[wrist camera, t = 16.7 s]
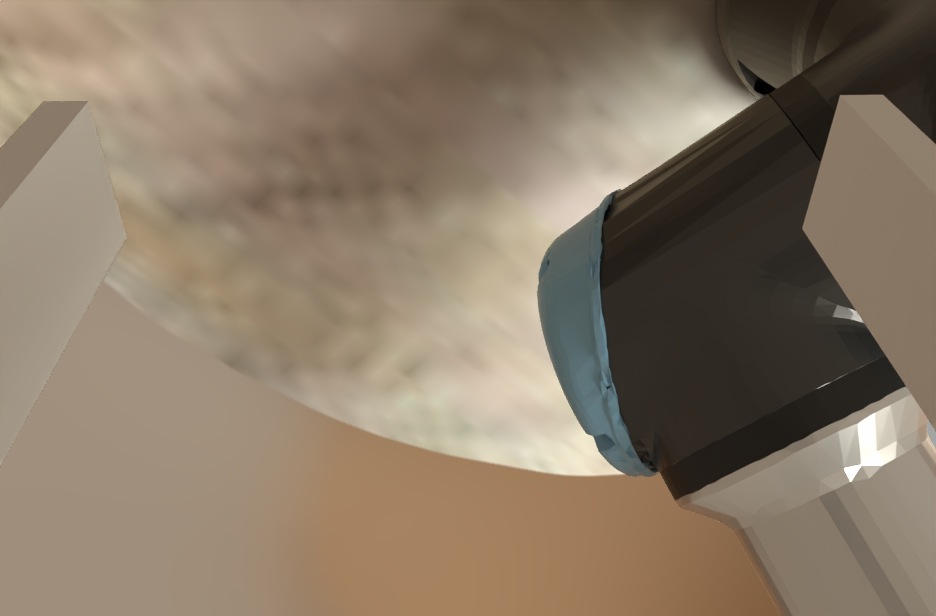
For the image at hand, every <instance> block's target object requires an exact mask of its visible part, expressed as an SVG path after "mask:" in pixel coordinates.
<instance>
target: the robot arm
mask: <svg viewBox="0 0 936 616" xmlns="http://www.w3.org/2000/svg"><path fill="white" fill-rule="evenodd" d="M716 19H717V28H718V33H719V37H720V41H721V45H722V48H723V50H724V53H725V55H726V57H727V59H728V61H729V63H730V65H731V67H732V68H733V70H734V71H735V73H736V74H737V75H738V77H739V78H740V79H741V81H742V82H743V83H744V85H745V86H746V87H747V88H748V90H749V91H750V92H751V93H752V94H753V95H754V96H755V97H756V98H757V99H758V101H756V102H755V103H753V104H752V105H750V106H749V107H747V108H746V109H744V110H743V111H741V112H740V113H738V114H737V115H735V116H734V117H732V118H731V119H729V120H728V121H726V122H725V123H723V124H722V125H720V126H719V127H717V128H716V129H714V130H713V131H711V132H710V133H708V134H707V135H705V136H704V137H702V138H701V139H699V140H698V141H696V142H695V143H693V144H692V145H690V146H689V147H687V148H686V149H684V150H683V151H681V152H680V153H678V154H677V155H675V156H674V157H672V158H671V159H669V160H668V161H666V162H665V163H663V164H662V165H660V166H659V167H657V168H656V169H654V170H653V171H651V172H650V173H648V174H647V175H645V176H643V177H642V178H640V179H639V180H637V181H636V182H634V183H633V184H631V185H629V186H628V187H626V188H625V189H623V190H621V189H619V190H616V191H614V192H612V193H611V194H610V195H607V196H606V197H605V198H604V200H603V201H602V203H601V204H600V206H599V207H597V208H596V209H595V210H594V211H592V212H591V213H590V214H588V215H587V216H586V217H584V218H583V219H582V220H580V221H579V222H578V223H577V224H575V225H574V226H573V227H571V228H570V229H568V230H567V231H566V232H564V233H563V234H561V235H560V236H559V237H558V238H557V239H556V240H554V242H553V243H552V244H551V245H550V247H549V248H548V250H547V251H546V253H545V255H544V257H543V260H542V263H541V268H540V271H539V285H538V291H537V297H538V308H539V315H540V321H541V326H542V330H543V334H544V338H545V342H546V346H547V349H548V352H549V355H550V359H551V361H552V364H553V367H554V370H555V372H556V375H557V377H558V380H559V382H560V385H561V387H562V389H563V392H564V394H565V396H566V398H567V400H568V402H569V404H570V406H571V408H572V410H573V412H574V414H575V416H576V418H577V420H578V421H579V423H580V425H581V426H582V428H583V429H584V431H585V432H586V433H587V434H588V435H592V436H593V437H594V440H595V442H596V445H597V448H598V450H599V452H600V453H601V455H602V456H603V457H604V458H605V459H606V460H607V461H608V462H609V463H610V464H611V465H612V466H613V467H614V468H616V469H617V470H619V471H621V472H623V473H624V474H626V475H628V476H646V477H651V476H654V475H656V474H658V473H659V472H660V474H661V475H662V477H663V479H664V481H665V483H666V485H667V486H668V488H669V490H670V492H671V494H672V496H673V498H674V499H675V501H676V503H677V504H678V506H679V507H680V508H682V509H685V510H688V511H691V512H694V513H697V514H699V515H703V516H706V517H708V518H711V519H714V520H717V521H720V522H721V523H723V524H724V525H726V526H727V527H728V528H730V529H731V530H733V532H734V534H735V536H736V537H737V539H738V541H739V543H740V545H741V546H742V548H743V550H744V552H745V554H746V555H747V557H748V559H749V561H750V562H751V564H752V566H753V568H754V570H755V571H756V573H757V575H758V577H759V579H760V580H761V582H762V584H763V586H764V588H765V589H766V591H767V593H768V595H769V596H770V598H771V600H772V602H773V604H774V605H775V607H776V609H777V611H778V612H779V614H780V616H936V448H935V447H934V445H933V444H932V442H931V441H930V439H929V436H928V431H927V420H929V422H930V423H931V425H932V426H933V428H934V429H935V431H936V0H716ZM126 238H127V236H126V232H125V229H124V225H123V222H122V218H121V215H120V211H119V208H118V204H117V201H116V197H115V194H114V190H113V186H112V183H111V179H110V176H109V172H108V169H107V165H106V162H105V158H104V155H103V151H102V148H101V144H100V141H99V137H98V134H97V130H96V126H95V123H94V119H93V116H92V112H91V109H90V105H89V102H88V101H53V102H43V103H42V104H41V105H40V106H39V107H38V108H37V109H36V110H35V111H34V112H33V113H32V114H31V116H30V117H29V118H28V119H27V120H26V121H25V122H24V123H23V124H22V125H21V126H20V127H19V129H18V130H17V131H16V132H15V133H14V134H13V135H12V136H11V137H10V138H9V139H8V140H7V142H6V143H5V144H4V145H3V146H2V147H1V148H0V466H1V464H2V462H3V461H4V458H5V457H6V455H7V453H8V452H9V450H10V448H11V446H12V444H13V442H14V441H15V439H16V437H17V435H18V433H19V431H20V430H21V428H22V426H23V424H24V422H25V420H26V419H27V417H28V415H29V413H30V412H31V410H32V408H33V406H34V404H35V402H36V401H37V399H38V397H39V395H40V394H41V392H42V390H43V388H44V386H45V384H46V383H47V381H48V379H49V377H50V375H51V374H52V372H53V370H54V368H55V366H56V364H57V363H58V361H59V359H60V357H61V355H62V354H63V352H64V350H65V348H66V346H67V344H68V343H69V341H70V339H71V337H72V335H73V334H74V332H75V330H76V328H77V326H78V324H79V323H80V321H81V319H82V317H83V316H84V314H85V312H86V310H87V308H88V306H89V305H90V303H91V301H92V299H93V297H94V296H95V294H96V292H97V290H98V288H99V286H100V285H101V283H102V281H103V279H104V277H105V276H106V274H107V272H108V270H109V268H110V267H111V265H112V263H113V261H114V259H115V258H116V256H117V254H118V252H119V250H120V248H121V247H122V245H123V243H124V241H125V239H126Z"/></svg>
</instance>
